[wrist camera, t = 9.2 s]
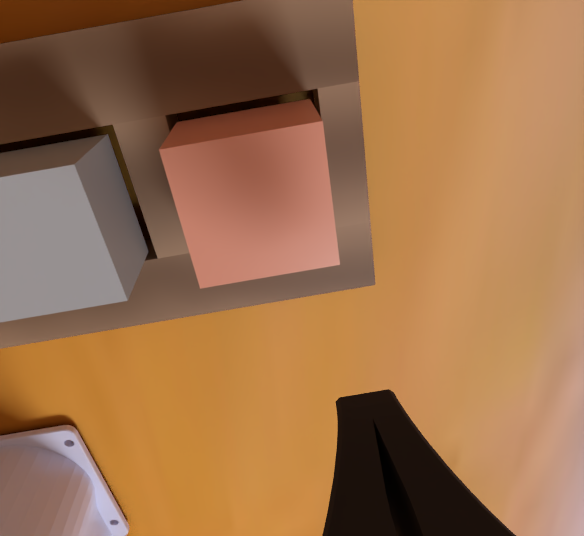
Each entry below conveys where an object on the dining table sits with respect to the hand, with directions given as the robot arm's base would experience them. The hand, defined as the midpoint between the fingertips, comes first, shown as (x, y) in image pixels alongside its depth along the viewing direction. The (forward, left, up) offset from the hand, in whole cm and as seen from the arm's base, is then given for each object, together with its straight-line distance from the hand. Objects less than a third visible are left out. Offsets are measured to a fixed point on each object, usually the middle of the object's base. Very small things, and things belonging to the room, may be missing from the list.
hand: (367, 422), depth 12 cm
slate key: (+4, +9, -9) cm, 13 cm away
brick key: (+4, +2, -9) cm, 10 cm away
